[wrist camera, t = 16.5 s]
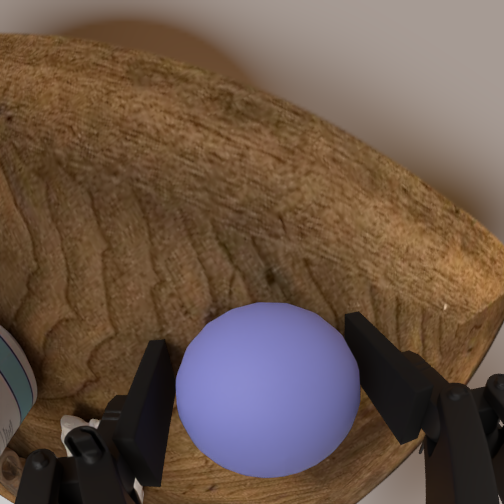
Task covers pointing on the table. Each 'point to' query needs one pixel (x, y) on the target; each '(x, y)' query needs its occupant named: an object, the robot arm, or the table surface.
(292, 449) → the sphere
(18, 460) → the oil lamp
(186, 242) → the table surface
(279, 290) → the table surface
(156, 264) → the table surface
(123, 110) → the table surface
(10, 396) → the beverage can
